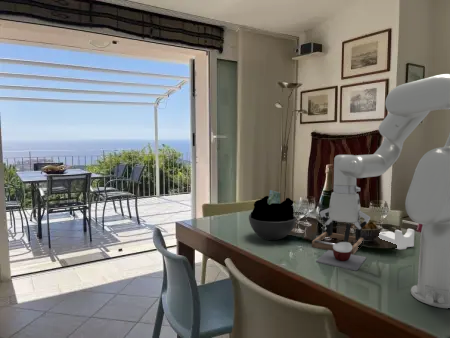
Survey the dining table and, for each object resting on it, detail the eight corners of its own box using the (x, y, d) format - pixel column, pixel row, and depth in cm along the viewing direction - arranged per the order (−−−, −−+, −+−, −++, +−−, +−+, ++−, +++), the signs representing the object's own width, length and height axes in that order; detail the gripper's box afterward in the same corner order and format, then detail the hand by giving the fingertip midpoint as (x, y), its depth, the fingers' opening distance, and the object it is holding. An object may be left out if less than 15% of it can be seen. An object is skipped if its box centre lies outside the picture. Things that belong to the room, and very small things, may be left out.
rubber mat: (356, 270, 114) (356, 269, 114) (315, 262, 122) (315, 260, 122) (366, 258, 126) (366, 257, 126) (328, 251, 134) (328, 249, 134)
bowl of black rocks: (239, 238, 150) (239, 195, 148) (270, 230, 163) (271, 190, 161) (273, 250, 135) (274, 202, 133) (304, 240, 147) (306, 196, 145)
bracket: (413, 248, 138) (414, 230, 137) (399, 250, 136) (400, 231, 135) (389, 239, 150) (390, 222, 150) (375, 240, 148) (376, 223, 148)
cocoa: (338, 265, 119) (340, 231, 117) (326, 258, 125) (327, 226, 123) (359, 259, 123) (360, 227, 121) (346, 253, 129) (347, 222, 127)
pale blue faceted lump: (243, 217, 190) (250, 185, 190) (275, 223, 195) (283, 192, 196) (255, 223, 172) (263, 188, 173) (290, 230, 178) (298, 196, 178)
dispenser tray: (353, 255, 130) (353, 247, 129) (311, 246, 138) (312, 239, 138) (363, 243, 143) (363, 237, 142) (324, 237, 152) (325, 230, 151)
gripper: (373, 190, 120) (371, 238, 121) (324, 186, 129) (323, 231, 131) (368, 193, 113) (366, 243, 115) (317, 189, 123) (316, 236, 125)
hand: (343, 237), depth 123 cm, fingers open, 9 cm apart
